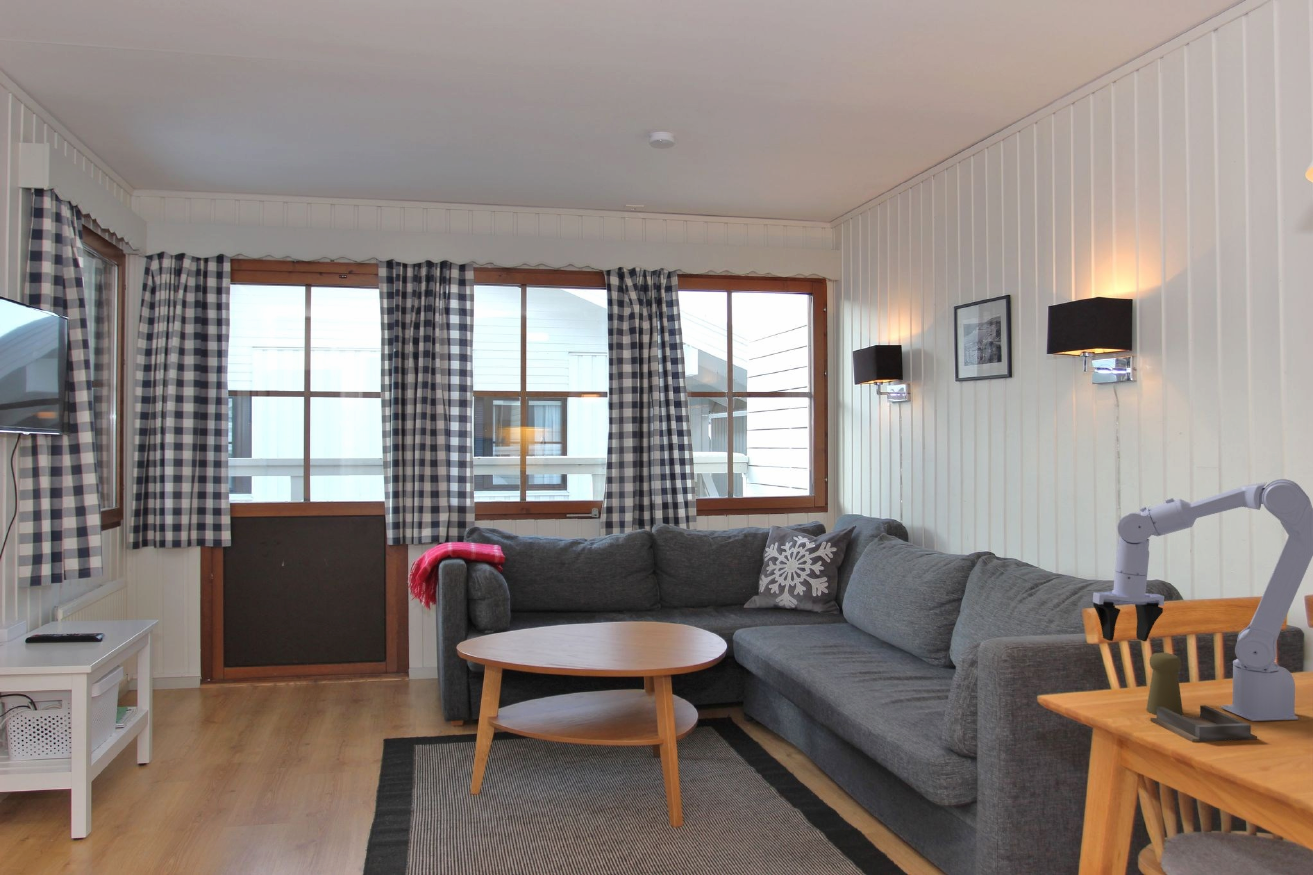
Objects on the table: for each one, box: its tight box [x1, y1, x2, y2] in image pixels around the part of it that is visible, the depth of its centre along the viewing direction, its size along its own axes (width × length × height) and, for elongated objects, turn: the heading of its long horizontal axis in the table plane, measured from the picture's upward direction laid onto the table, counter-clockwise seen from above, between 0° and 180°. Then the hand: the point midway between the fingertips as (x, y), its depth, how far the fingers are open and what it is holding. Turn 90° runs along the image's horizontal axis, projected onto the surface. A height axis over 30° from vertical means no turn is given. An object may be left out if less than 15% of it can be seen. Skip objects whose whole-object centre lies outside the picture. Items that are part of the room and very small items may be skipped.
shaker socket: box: [1149, 704, 1258, 743], centre depth 161 cm, size 12×11×2 cm
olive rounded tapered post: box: [1146, 652, 1184, 716], centre depth 171 cm, size 6×6×11 cm
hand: (1124, 639), depth 182 cm, fingers open, 7 cm apart
